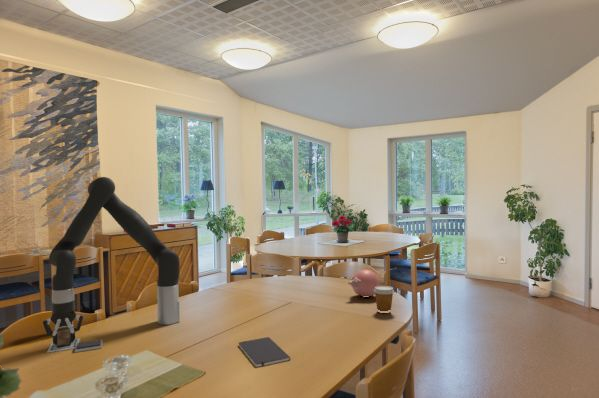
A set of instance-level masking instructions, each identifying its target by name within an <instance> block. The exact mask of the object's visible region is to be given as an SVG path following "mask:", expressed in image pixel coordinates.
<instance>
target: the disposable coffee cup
mask: <svg viewBox="0 0 599 398" xmlns="http://www.w3.org/2000/svg"><path fill="white" fill-rule="evenodd" d="M374 291H375V295H374V296H375V303H376V309H378V310H380V311H388V310H391V311H392V306H393V305H392V303H393V296H394V291H395V290H394V288H393V287H392V286H390V285H389V286H388V285H380V286H376V287H375V289H374Z"/></svg>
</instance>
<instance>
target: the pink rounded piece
mask: <svg viewBox="0 0 599 398" xmlns="http://www.w3.org/2000/svg"><path fill="white" fill-rule="evenodd" d="M347 285H350V286H351V287H352V290H353V292H354V293H355V294H356V295H357V294H358V295H357V296H359V295H361V296H372V295H374V296H375V291H374V289H375V287H376V286H381V285H380V279H379V277H378V275H377V274H376V273H375V272H374V271H373V270H370V269H360V270H359V271H357V272H356V273H354V275H353V277H352V279H351V281H348V283H347ZM372 297H373V296H372Z"/></svg>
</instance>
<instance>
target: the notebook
mask: <svg viewBox="0 0 599 398" xmlns="http://www.w3.org/2000/svg"><path fill="white" fill-rule="evenodd" d="M238 346H239V348H240V349H241V350H242V351H243V352H244V354H245V355H246V356H247V357H248V359H249V360H250V362H252V364H253V365H254V366H255V367H265V366H267V365H272V364H277V363H281V362H285V361H286V362H287V361H291V357H290V355H289V354H287V352H285V351H284V350H283V349H282V348H281V347H280V346H279V345H278V344H277V343H276V342H275V341H274V340H273V339H272V338H271V337H269V336H267V337H262V338H255V339H250V340H245V341H239V342H238Z"/></svg>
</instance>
